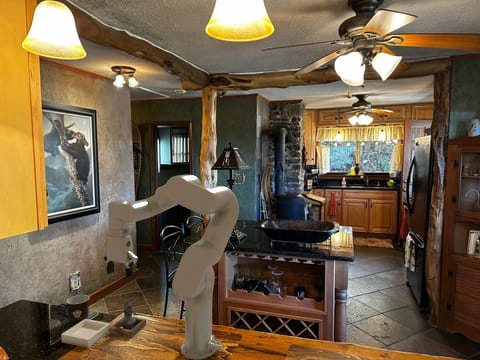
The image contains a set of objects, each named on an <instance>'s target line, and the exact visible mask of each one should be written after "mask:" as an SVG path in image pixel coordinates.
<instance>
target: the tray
mask: <svg viewBox="0 0 480 360" xmlns="http://www.w3.org/2000/svg"><path fill="white" fill-rule="evenodd" d="M111 326H112V324H111V323H109V322H105V321H99V320H94V319H93V320H92V319H89V318H87V319H84V320H83V321H81V322H80V323H78V324H77V325H75V326H74V327H72V326H71V327H70V328H69V329H67V330H66V331H64V332H62V333H61V337H60V338H61V343H63V344H69V345H74V346H78V347H83V348H87V349H88V348H90V347H92V346H93V345H94V344H96V343H97V342H99V341H100V340H101V339H102V338H103V337H105V336H106V335H107V334H108V333H109V328H110V327H111ZM105 334H106V335H105ZM104 335H105V336H104ZM100 338H101V339H100Z"/></svg>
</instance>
